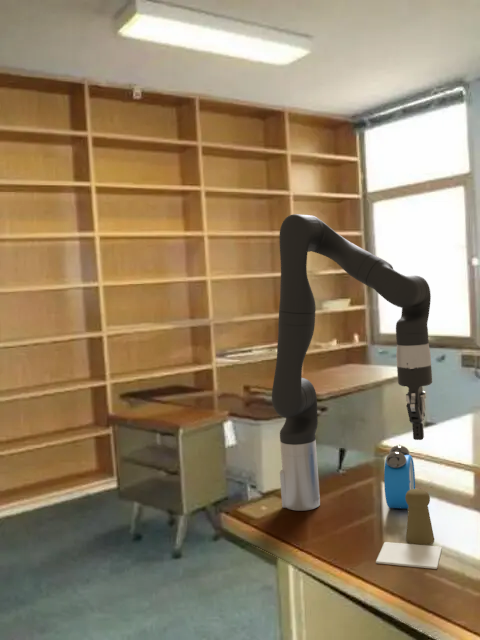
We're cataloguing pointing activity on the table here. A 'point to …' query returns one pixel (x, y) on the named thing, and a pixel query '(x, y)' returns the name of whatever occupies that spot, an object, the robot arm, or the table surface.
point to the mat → (410, 555)
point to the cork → (418, 518)
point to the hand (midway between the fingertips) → (418, 439)
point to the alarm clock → (398, 476)
